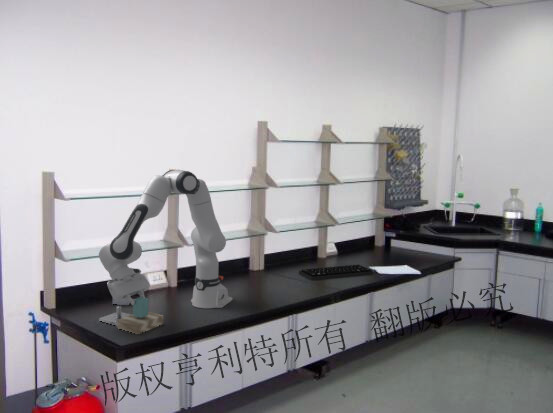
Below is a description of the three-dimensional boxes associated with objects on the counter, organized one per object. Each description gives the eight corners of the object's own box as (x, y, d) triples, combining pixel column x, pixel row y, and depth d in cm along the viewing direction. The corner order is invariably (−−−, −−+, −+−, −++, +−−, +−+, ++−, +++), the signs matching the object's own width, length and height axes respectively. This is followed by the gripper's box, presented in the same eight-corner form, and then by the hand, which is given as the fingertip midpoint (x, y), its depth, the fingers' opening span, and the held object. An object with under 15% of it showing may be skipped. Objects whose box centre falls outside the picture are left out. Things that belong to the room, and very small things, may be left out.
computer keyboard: (311, 281, 332) (311, 275, 331) (298, 274, 346) (299, 268, 345) (373, 275, 352) (373, 269, 351) (359, 269, 366) (359, 263, 365)
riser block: (142, 318, 255) (142, 310, 255) (163, 324, 250) (163, 315, 249) (117, 328, 241) (117, 320, 241) (138, 334, 236) (138, 325, 235)
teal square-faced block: (140, 313, 248) (140, 296, 247) (148, 315, 246) (148, 298, 245) (133, 315, 244) (133, 299, 243) (140, 317, 242) (141, 301, 241)
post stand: (118, 314, 260) (118, 300, 259) (138, 319, 254) (138, 305, 253) (99, 321, 249) (99, 307, 248) (118, 327, 244) (118, 312, 243)
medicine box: (130, 302, 277) (130, 285, 276) (128, 305, 273) (128, 288, 272) (114, 302, 277) (114, 285, 276) (112, 305, 273) (112, 288, 271)
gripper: (109, 277, 237) (126, 304, 234) (142, 268, 255) (158, 292, 252) (101, 286, 240) (118, 312, 237) (135, 276, 258) (150, 300, 255)
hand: (139, 302), depth 244 cm, fingers closed on teal square-faced block, 5 cm apart
